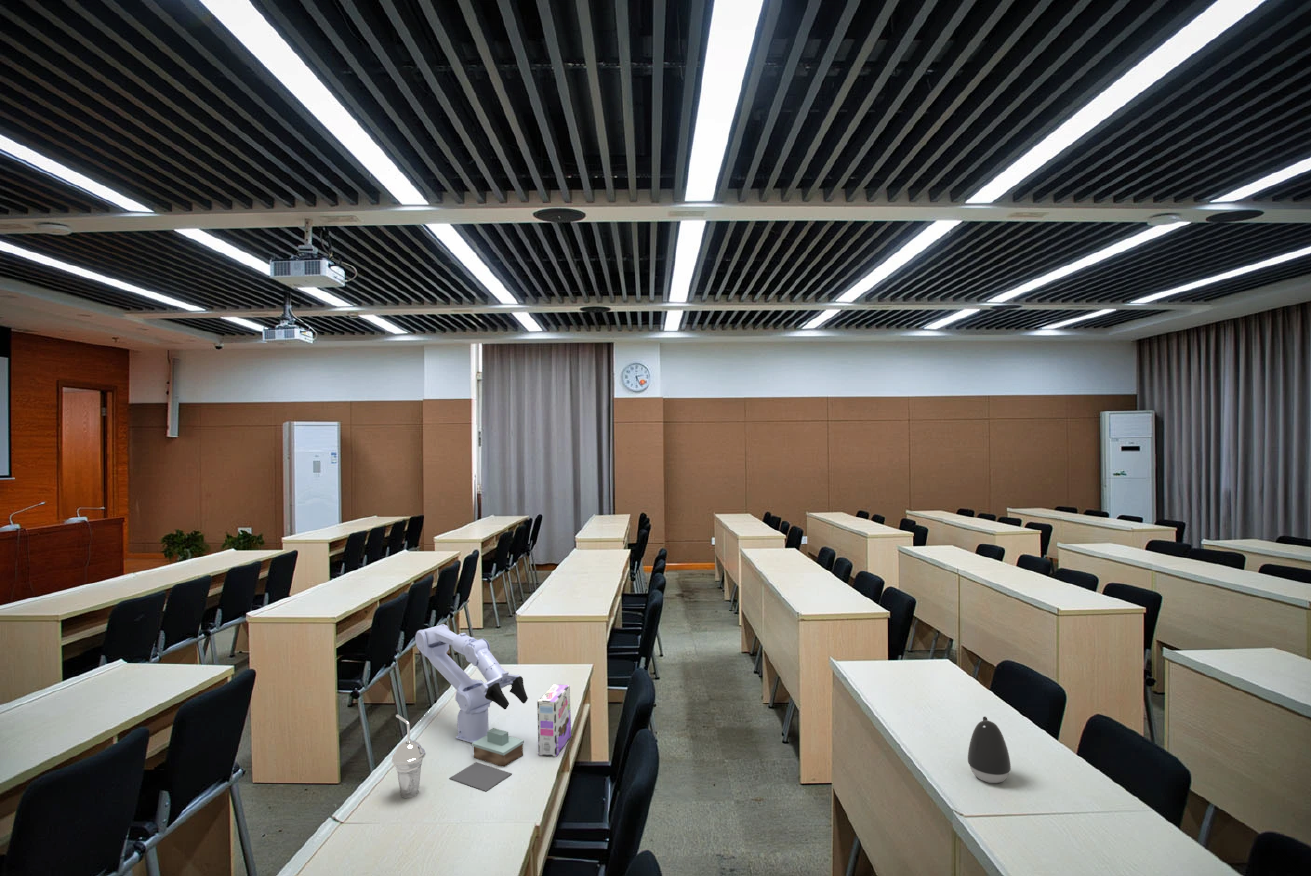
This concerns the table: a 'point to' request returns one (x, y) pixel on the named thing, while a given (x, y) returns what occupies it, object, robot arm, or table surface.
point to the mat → (480, 776)
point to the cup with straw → (408, 764)
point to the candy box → (554, 720)
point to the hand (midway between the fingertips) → (516, 703)
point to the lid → (498, 742)
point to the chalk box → (498, 756)
